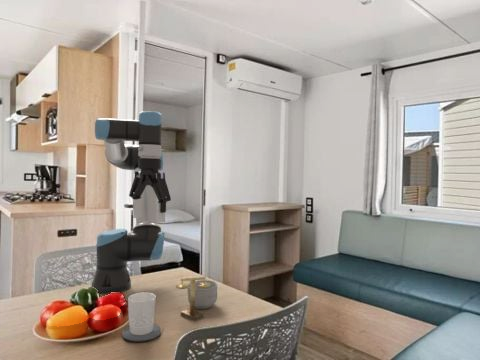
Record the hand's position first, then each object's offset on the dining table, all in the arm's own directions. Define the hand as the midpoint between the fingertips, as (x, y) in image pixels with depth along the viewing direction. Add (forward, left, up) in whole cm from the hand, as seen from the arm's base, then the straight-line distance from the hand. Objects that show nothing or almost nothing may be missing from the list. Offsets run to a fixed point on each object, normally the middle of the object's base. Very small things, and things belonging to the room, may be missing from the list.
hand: (148, 220), depth 124 cm
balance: (+15, +7, -31) cm, 35 cm away
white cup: (+14, -12, -30) cm, 35 cm away
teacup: (+10, +17, -32) cm, 37 cm away
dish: (+14, -12, -31) cm, 36 cm away
